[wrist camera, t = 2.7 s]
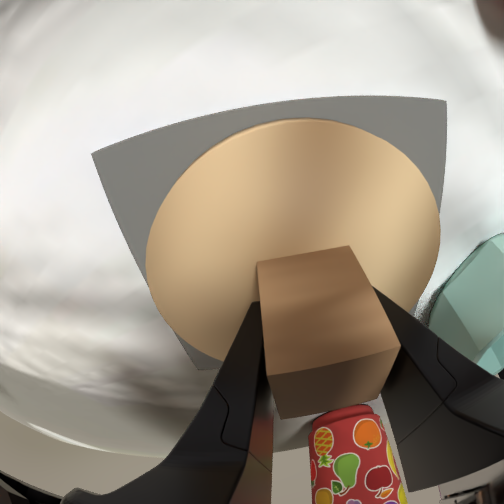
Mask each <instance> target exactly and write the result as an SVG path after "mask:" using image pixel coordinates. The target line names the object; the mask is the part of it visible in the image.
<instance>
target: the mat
mask: <svg viewBox="0 0 504 504" xmlns="http://www.w3.org/2000/svg"><path fill="white" fill-rule="evenodd" d="M304 117H309V118H320V119H329V120H334V121H338V122H342V123H345V124H349V125H353V126H355V127H357V128H360V129H362V130H364V131H366V132H369V133H371V134H373V135H375V136H377V137H379V138H381V139H383V140H385V141H387V142H388V143H390V144H391V145H393V146H394V147H396V148H397V149H398V150H400V151H401V152H402V153H404V154H405V155H406V156H407V157H408V158H409V159H410V160H411V161H412V162H413V163H414V164H415V165H416V167H417V168H418V169H419V170H420V172H421V173H422V175H423V176H424V178H425V179H426V181H427V182H428V184H429V187H430V189H431V191H432V193H433V195H434V198H435V201H436V205H437V209H438V212H439V213H440V207H441V200H442V192H443V184H444V174H445V162H446V143H447V103H446V101H444V100H438V99H428V98H417V97H401V96H337V97H321V98H308V99H298V100H289V101H281V102H274V103H267V104H261V105H254V106H249V107H243V108H238V109H233V110H228V111H223V112H218V113H214V114H210V115H205V116H201V117H197V118H193V119H189V120H186V121H182V122H178V123H175V124H171V125H168V126H165V127H161V128H158V129H155V130H152V131H149V132H146V133H143V134H140V135H137V136H134V137H131V138H128V139H126V140H123V141H120V142H118V143H115V144H112V145H110V146H107V147H105V148H102V149H100V150H98V151H95V152H93V153H92V154H91V155H92V158H93V161H94V163H95V166H96V169H97V172H98V175H99V177H100V180H101V183H102V185H103V188H104V191H105V193H106V196H107V198H108V201H109V203H110V206H111V208H112V210H113V213H114V215H115V217H116V220H117V222H118V224H119V227H120V229H121V231H122V233H123V236H124V238H125V240H126V242H127V244H128V246H129V249H130V251H131V253H132V255H133V257H134V259H135V261H136V263H137V265H138V267H139V269H140V271H141V273H142V275H143V277H144V279H145V281H146V283H147V285H148V282H147V274H146V266H145V264H146V247H147V242H148V238H149V234H150V229H151V227H152V224H153V222H154V219H155V217H156V215H157V212H158V210H159V208H160V206H161V205H162V203H163V201H164V199H165V198H166V196H167V194H168V193H169V191H170V190H171V188H172V187H173V185H174V184H175V182H176V181H177V179H178V178H179V177H180V175H181V174H182V173H183V172H184V171H185V170H186V169H187V168H188V167H189V166H190V164H191V163H192V162H193V161H194V160H195V159H197V158H198V157H199V156H200V155H202V154H203V153H204V152H205V151H207V150H208V149H209V148H210V147H212V146H213V145H215V144H217V143H218V142H220V141H222V140H223V139H225V138H227V137H229V136H230V135H232V134H234V133H236V132H239V131H241V130H244V129H247V128H249V127H252V126H254V125H257V124H261V123H265V122H270V121H275V120H279V119H287V118H304ZM148 287H149V285H148ZM418 301H419V300H418ZM418 301H417V302H416V304H415V305H414V306H413V308H412V309H411V310H410V311H409V312H408V313H409V314H411V315H412V316H414V313H415V310H416V307H417V304H418ZM173 331H174V330H173ZM174 333H175V334H176V332H175V331H174ZM176 336H177V338H178V339H179V341H180V343H181V344H182V346H183V347H184V349H185V351H186V352H187V354H188V355H189V357H190V358H191V360H192V361H193V363H194V365H195V366H196V368H197V369H198V370H207V369H220V368H221V366H222V364H223V361H220V360H218V359H215V358H213V357H211V356H209V355H207V354H205V353H203V352H201V351H199V350H198V349H196V348H194V347H193V346H191V345H190V344H188V343H187V342H186V341H185V340H183V339H182V338H181V337H180V336H179V335H178V334H176Z"/></svg>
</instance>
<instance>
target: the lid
mask: <svg viewBox="0 0 504 504" xmlns="http://www.w3.org/2000/svg"><path fill="white" fill-rule="evenodd" d="M439 246H440V220H439V212H438V209H437V205H436V201H435V198H434V195H433V193H432V191H431V189H430V187H429V184H428V182H427V181H426V179H425V178H424V176H423V175H422V173H421V172H420V170H419V169H418V168H417V167H416V165H415V164H414V163H413V162H412V161H411V160H410V159H409V158H408V157H407V156H406V155H405V154H404V153H402V152H401V151H400V150H398V149H397V148H396V147H394V146H393V145H391V144H390V143H388V142H387V141H385V140H383V139H381V138H379V137H377V136H375V135H373V134H371V133H369V132H366V131H364V130H362V129H360V128H357V127H355V126H353V125H349V124H345V123H342V122H338V121H334V120H329V119H320V118H309V117H304V118H287V119H279V120H275V121H270V122H265V123H261V124H257V125H254V126H252V127H249V128H247V129H244V130H241V131H239V132H236V133H234V134H232V135H230V136H229V137H227V138H225V139H223V140H222V141H220V142H218V143H217V144H215V145H213V146H212V147H210V148H209V149H208V150H207V151H205V152H204V153H203V154H202V155H200V156H199V157H198V158H197V159H195V160H194V161H193V162H192V163H191V164H190V166H189V167H188V168H187V169H186V170H185V171H184V172H183V173H182V174H181V175H180V177H179V178H178V179H177V181H176V182H175V184H174V185H173V187H172V188H171V190H170V191H169V193H168V194H167V196H166V198H165V199H164V201H163V203H162V205H161V206H160V208H159V210H158V212H157V215H156V217H155V219H154V222H153V224H152V227H151V229H150V234H149V238H148V242H147V247H146V264H145V266H146V274H147V282H148V285H149V289H150V292H151V296H152V298H153V300H154V302H155V304H156V307H157V309H158V311H159V312H160V314H161V315H162V317H163V318H164V320H165V321H166V322H167V324H168V325H169V326H170V327H171V328H172V329H173V330H174V331H175V332H176V334H178V335H179V336H180V337H181V338H182V339H183V340H185V341H186V342H187V343H188V344H190V345H191V346H193V347H194V348H196V349H198V350H199V351H201V352H203V353H205V354H207V355H209V356H211V357H213V358H215V359H218V360H220V361H223V362H224V360H225V357H226V355H227V353H228V351H229V349H230V347H231V345H232V343H233V341H234V339H235V336H236V334H237V332H238V330H239V328H240V326H241V324H242V322H243V319H244V317H245V315H246V313H247V311H248V309H249V306H250V304H251V303H252V302H254V301H260V304H261V315H262V326H263V338H264V349H265V361H266V372H267V378H268V381H269V384H270V388H271V391H272V394H273V397H274V400H275V403H276V406H277V410H278V413H279V416H280V419H288V418H295V417H301V416H307V415H312V414H317V413H322V412H327V411H332V410H336V409H341V408H345V407H349V406H353V405H357V404H360V403H364V402H367V401H371V400H374V399H377V398H378V396H379V394H380V392H381V390H382V388H383V385H384V383H385V381H386V379H387V377H388V375H389V373H390V370H391V368H392V366H393V364H394V361H395V359H396V357H397V354H398V352H399V349H400V347H401V345H400V343H399V340H398V338H397V336H396V334H395V332H394V329H393V327H392V325H391V323H390V321H389V319H388V317H387V315H386V313H385V311H384V309H383V307H382V305H381V303H380V301H379V299H378V297H377V295H376V293H375V291H374V289H373V287H375V288H376V289H378V290H379V291H380V292H382V293H383V294H384V295H386V296H387V297H388V298H390V299H391V300H392V301H394V302H395V303H396V304H398V305H399V306H400V307H402V308H403V309H404V310H406V311H407V312H409V311H410V310H411V309H412V308H413V306H414V305H415V304H416V302H417V301H418V300H419V298H420V296H421V295H422V293H423V292H424V290H425V288H426V286H427V284H428V282H429V280H430V278H431V276H432V273H433V270H434V267H435V264H436V261H437V257H438V252H439ZM372 286H373V287H372Z"/></svg>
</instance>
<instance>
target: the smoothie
mask: <svg viewBox="0 0 504 504" xmlns="http://www.w3.org/2000/svg"><path fill="white" fill-rule="evenodd" d="M308 439H309V453H310V469H311V487H312V504H408V503H407V500H406V496H405V492H404V489H403V486H402V482H401V479H400V475H399V472H398V469H397V466H396V462H395V459H394V456H393V453H392V450H391V447H390V444H389V441H388V438H387V435H386V432H385V429H384V427H383V424H382V421H381V418H380V416H379V415H377V414H374V412H373V410H372V408H371V407H370V406H368V405H353V406H349V407H345V408H341V409H336V410H333V411H331V412H328V413H326V414H324V415H322V416H320V417H319V418H317V419H316V420H315V421H314V422H313V424H312V432H311V433H310V434H309V436H308Z"/></svg>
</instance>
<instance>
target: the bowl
mask: <svg viewBox="0 0 504 504" xmlns="http://www.w3.org/2000/svg"><path fill="white" fill-rule="evenodd" d="M428 328H429V329H430V330H431V331H433V332H434V333H435V334H436V335H437V336H438V337H440V338H441V339H443V340H444V341H445V342H446V343H448V344H449V345H450V346H452V347H453V348H454V349H455V350H457V351H458V352H460V353H461V354H462V355H464V356H465V357H467V358H468V359H470V360H471V361H473V362H474V363H476V364H477V365H479V366H480V367H482V368H483V369H485V370H486V371H488V372H489V373H491V374H492V375H496V374H497V373H499V372H500V371H501V370H503V369H504V233H501V234H498V235H496V236H494V237H492V238H490V239H489V240H487V241H486V242H485V243H483V244H482V245H481V246H480V247H478V248H477V249H476V250H475V251H474V252H473V253H472V254H471V255H470V256H469V257H468V258H467V259H466V260H465V261H464V262H463V263H462V264H461V265H460V267H459V268H458V269H457V270H456V271H455V273H454V274H453V275H452V276H451V278H450V279H449V281H448V282H447V283H446V285H445V286H444V288H443V289H442V291H441V293H440V294H439V296H438V298H437V300H436V302H435V304H434V306H433V308H432V311H431V314H430V318H429V327H428Z"/></svg>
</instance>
